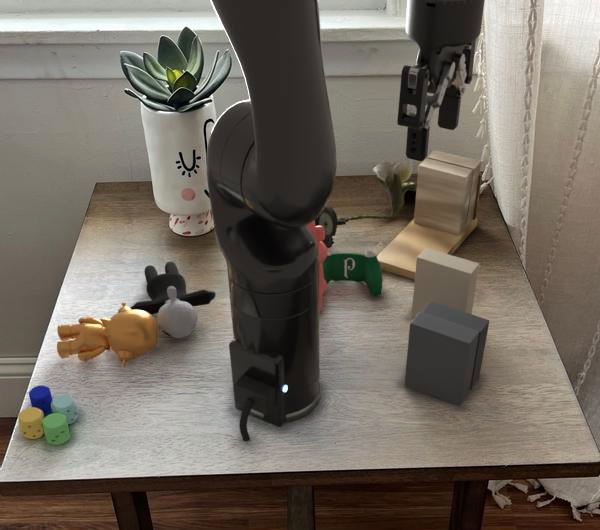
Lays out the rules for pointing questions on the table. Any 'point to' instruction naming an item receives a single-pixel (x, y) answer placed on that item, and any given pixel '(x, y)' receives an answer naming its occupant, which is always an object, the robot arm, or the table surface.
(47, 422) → the multicoloured cylinder cluster
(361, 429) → the table surface
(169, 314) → the figurine
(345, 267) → the gaming controller
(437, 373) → the grey books
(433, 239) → the book shelf
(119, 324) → the figurine
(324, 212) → the artificial flower
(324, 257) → the figurine
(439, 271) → the cream book
